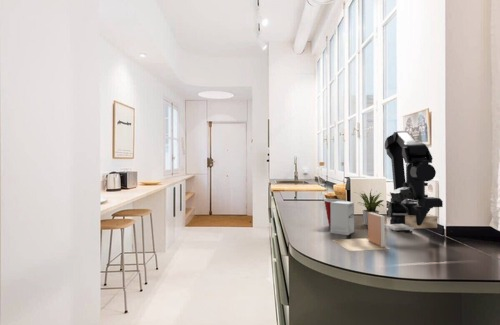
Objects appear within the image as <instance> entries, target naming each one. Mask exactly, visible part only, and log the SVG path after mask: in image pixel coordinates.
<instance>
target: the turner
mask: <svg viewBox="0 0 500 325" xmlns="http://www.w3.org/2000/svg"><path fill="white" fill-rule="evenodd" d="M386 228H387V229H388V230H391V229H392V230H391V231H393V230H411V231H413V230H415V229H434V228H435V229H437V228H438V215H434V214H427V215H426V217H425V219H424V220H423V222H422V224H421V225H420V226H418V225H417V220H416V215H406V216H405V224H390V223H389V224H388V223H387V224H386V223H385V229H386Z"/></svg>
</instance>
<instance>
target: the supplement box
mask: <svg viewBox="0 0 500 325" xmlns="http://www.w3.org/2000/svg"><path fill="white" fill-rule="evenodd" d="M330 233H331V234H336V235H344V236H349V235H351V234H353V233H355V202H354V201H348V202H344V201H336V202H332V203H331V227H330Z"/></svg>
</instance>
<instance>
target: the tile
mask: <svg viewBox="0 0 500 325" xmlns="http://www.w3.org/2000/svg"><path fill="white" fill-rule="evenodd" d="M385 222H386V220H385V215H382V214H376V213H372V212H368V225H367V233H368V234H367V238H368V240H369V241H371V242H373V243H375V244H377V245H379V246H381V247H385V246H386V236H385V235H386V227H385V224H386V223H385Z"/></svg>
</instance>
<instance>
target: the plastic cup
mask: <svg viewBox="0 0 500 325" xmlns="http://www.w3.org/2000/svg"><path fill="white" fill-rule="evenodd" d="M323 201H324V204H325V211H326V215H327V216H326V217H327V221H328V222H327V223H328V226H330V228H331V203H332V202H336V201H344V202H349V201H348V200H345V199H338V198H323Z"/></svg>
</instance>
